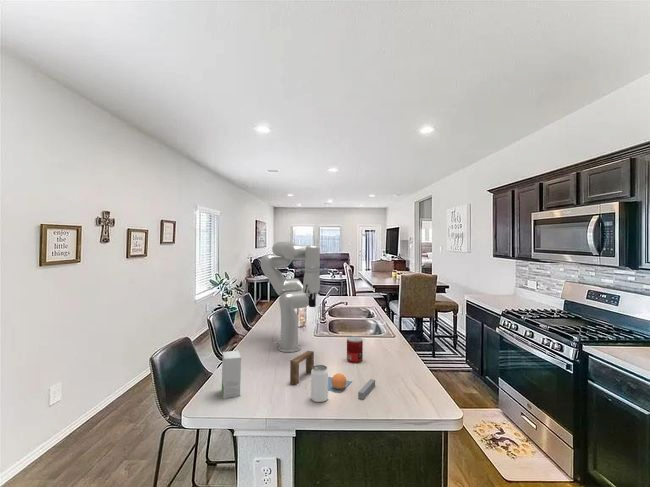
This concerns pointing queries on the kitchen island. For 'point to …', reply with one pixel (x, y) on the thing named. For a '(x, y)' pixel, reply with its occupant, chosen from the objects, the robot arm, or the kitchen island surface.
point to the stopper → (366, 389)
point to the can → (319, 383)
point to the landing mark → (332, 388)
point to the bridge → (295, 366)
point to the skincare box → (231, 374)
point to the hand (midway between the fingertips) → (312, 306)
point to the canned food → (354, 349)
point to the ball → (339, 381)
